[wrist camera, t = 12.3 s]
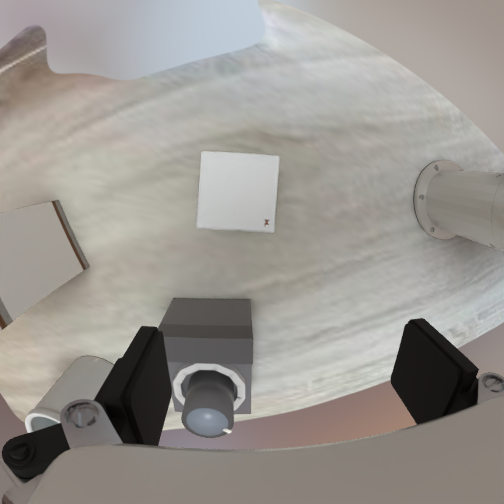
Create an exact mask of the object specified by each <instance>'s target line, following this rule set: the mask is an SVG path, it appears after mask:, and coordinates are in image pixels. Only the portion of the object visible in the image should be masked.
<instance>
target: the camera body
mask: <svg viewBox="0 0 504 504" xmlns="http://www.w3.org/2000/svg"><path fill="white" fill-rule="evenodd" d="M158 331H162V332H163V336H164V343H165V350H166V357H167V363H168V369H169V375H170V381H171V386H172V398H173V403H174V408H175V411H177V412H183V408H184V403H185V398H186V393H187V389H188V384H189V380H190V378H191V376H192V375H193V374H194V373H195V372H197V371H199V370H216V371H218V372H220V373H222V374H225V375H227V376H229V377H230V378H231V380H232V382H233V385H234V414H251V364H252V363H253V334H252V320H251V306H250V299H194V298H173V300H172V302H171V304H170V306H169V308H168V310H167V312H166V314H165V316H164V318H163V320H162V322H161V324H160V326H159V328H158Z"/></svg>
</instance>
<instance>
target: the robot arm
mask: <svg viewBox="0 0 504 504" xmlns="http://www.w3.org/2000/svg"><path fill="white" fill-rule="evenodd" d="M414 206H415V211H416V215H417V218H418V221H419V223H420V225H421V226H422V228H423V229H424V230H425V231H426V232H427V233H428V234H429V235H431V236H433V237H435V238H438V239H442V240H447V239H451V238H453V237H455V236H457V235H459V236H461V237H464V238H467V239H470V240H473V241H475V242H478V243H481V244H483V245H486V246H489V247H491V248H494V249H496V250H499V251H501V252H504V174H499V173H487V172H473V171H464V170H463V169H462V168H461V167H460V166H459V165H457V164H456V163H454V162H452V161H449V160H438V161H435V162H432V163H431V164H429V165H428V166H427V167H426V168H425V169H424V170H423V171H422V173H421V175H420V176H419V179H418V181H417V184H416V188H415V195H414ZM478 370H479V369H478V368H477V367H476V366H475V365H474V364H473V363H472V362H471V361H470V360H469V359H468V358H467V357H465V356H464V355H463V354H462V353H461V352H460V351H459V350H458V349H457V348H456V347H455V346H454V345H453V344H451V343H450V342H449V341H448V340H447V339H446V338H445V337H444V336H443V335H442V334H440V333H439V332H438V331H437V330H436V329H435V328H434V327H433V326H431V325H430V324H429V323H428V322H427V321H426V320H425V319H423V318H420V319H412V320H410V321H409V322H408V324H406V325H405V327H404V331H403V336H402V339H401V343H400V347H399V351H398V355H397V358H396V362H395V365H394V368H393V372H392V375H391V384H392V386H393V388H394V389H395V391H396V392H397V394H398V395H399V397H400V398H401V400H402V401H403V403H404V405H405V406H406V407H407V409H408V411H409V412H410V414H411V416H412V417H413V419H414V420H415V422H416V423H417V425H415V426H411V427H408V428H404V429H400V430H395V431H391V432H387V433H383V434H379V435H374V436H369V437H364V438H358V439H353V440H347V441H341V442H334V443H327V444H319V445H311V446H302V447H290V448H278V449H277V448H276V449H252V450H220V449H194V448H178V447H164V446H158V443H159V439H160V436H161V432H162V429H163V425H164V421H165V417H166V414H167V410H168V407H169V403H170V399H171V395H172V386H171V381H170V375H169V369H168V363H167V357H166V350H165V343H164V336H163V332H162V331H158V328H157V327H150V326H141V328H140V329H139V331H138V332H137V334H136V336H135V337H134V339H133V341H132V342H131V344H130V346H129V347H128V349H127V351H126V352H125V354H124V356H123V357H122V358H119V359H118V360H117V361H116V363H115V364H114V366H113V368H112V370H111V371H110V373H109V375H108V376H107V378H106V380H105V381H104V383H103V385H102V386H101V388H100V390H99V392H98V393H97V395H96V397H95V399H94V400H90V399H79V400H75V401H72V402H70V403H68V404H67V405H66V406H65V407H64V408H63V409H62V410H61V413H60V421H61V423H58V424H55V425H52V426H49V427H46V428H43V429H40V430H37V431H34V432H30V433H27V434H24V435H20V436H17V437H14V438H13V439H10V440H9V441H8V442H6V444H5V445H4V447H3V450H2V457H1V458H0V504H504V377H503V376H501V375H499V374H496V373H491V372H488V373H484V374H482V375H481V376H480V377H479V379H477V378H476V375H477V373H478Z"/></svg>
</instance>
